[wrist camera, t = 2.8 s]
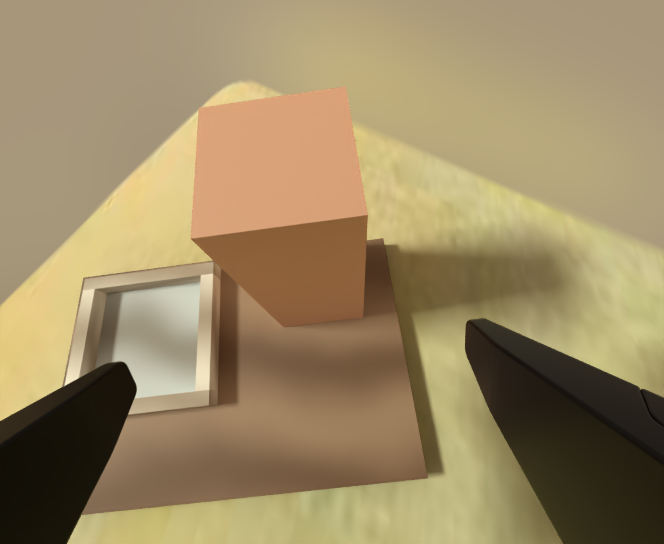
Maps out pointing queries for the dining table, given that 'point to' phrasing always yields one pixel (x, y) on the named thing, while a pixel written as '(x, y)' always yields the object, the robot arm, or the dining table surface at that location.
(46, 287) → the dining table surface
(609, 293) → the dining table surface
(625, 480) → the robot arm
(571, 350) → the dining table surface
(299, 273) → the pillar
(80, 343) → the baseboard
